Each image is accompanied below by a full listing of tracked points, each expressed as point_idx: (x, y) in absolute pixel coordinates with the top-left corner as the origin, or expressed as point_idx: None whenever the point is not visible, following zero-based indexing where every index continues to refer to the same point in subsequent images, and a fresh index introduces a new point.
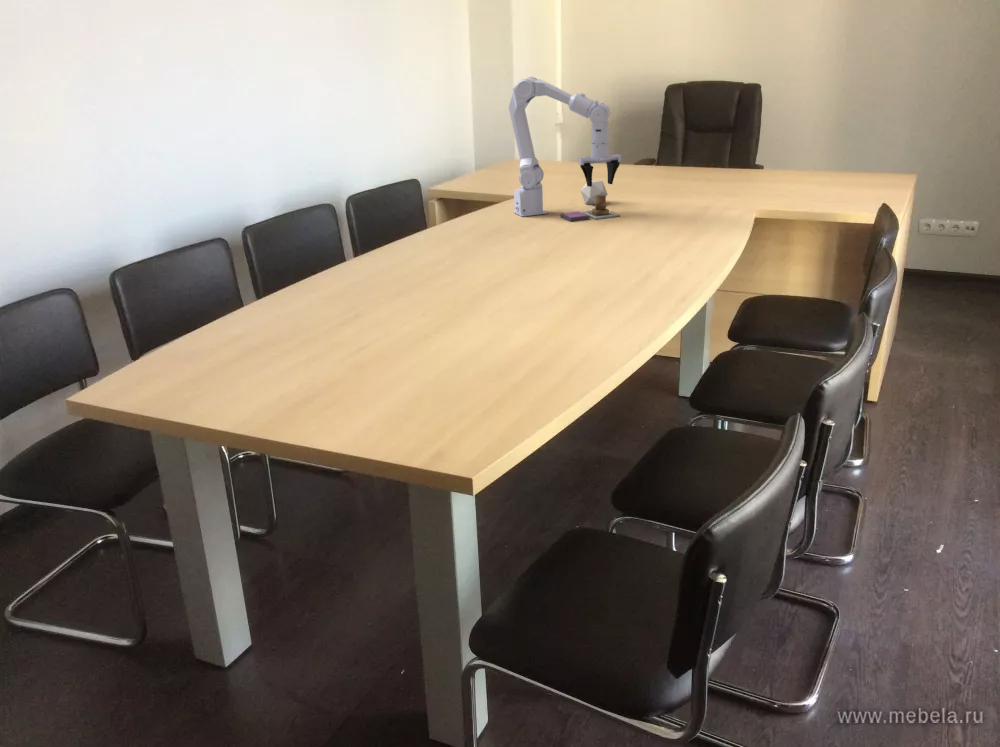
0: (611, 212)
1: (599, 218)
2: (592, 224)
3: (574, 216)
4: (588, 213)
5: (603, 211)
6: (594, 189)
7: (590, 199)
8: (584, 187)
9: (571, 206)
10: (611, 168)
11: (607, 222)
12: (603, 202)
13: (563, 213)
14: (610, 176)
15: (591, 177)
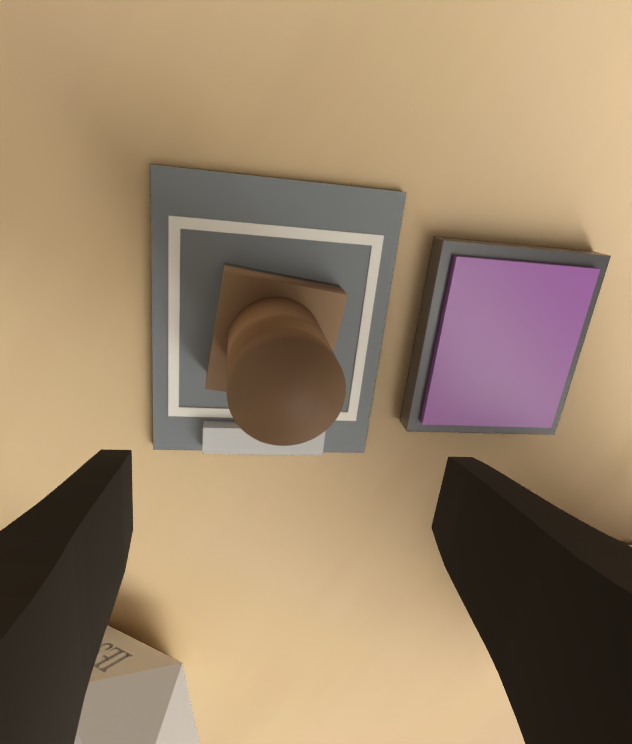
0: (158, 330)
1: (370, 188)
2: (538, 35)
3: (560, 283)
4: None
5: (280, 280)
6: (121, 732)
7: (169, 656)
8: None
9: (289, 654)
10: (32, 676)
11: (389, 10)
12: (278, 316)
13: (544, 423)
14: (96, 551)
15: (537, 522)
